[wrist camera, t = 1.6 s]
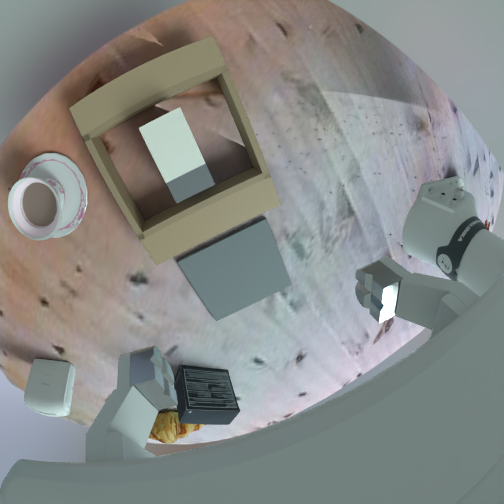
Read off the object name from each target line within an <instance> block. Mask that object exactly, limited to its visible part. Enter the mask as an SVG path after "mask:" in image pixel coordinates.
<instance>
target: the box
mask: <svg viewBox="0 0 504 504" xmlns="http://www.w3.org/2000/svg"><path fill="white" fill-rule="evenodd" d="M139 130H140V132H141V134H142V136H143V138H144V140H145V142H146V144H147V147H148V149H149V151H150V153H151V155H152V157H153V159H154V161H155V163H156V165H157V167H158V169H159V171H160V173H161V174H162V176H163V178H164V180H165V182H166V184H167V186H168V188H169V190H170V192H171V194H172V196H173V198H174V200H175V201H176V203H179V202H181V201H183V200H185V199H187V198H189V197H191V196H193V195H195V194H197V193H199V192H201V191H203V190H205V189H207V188H209V187H211V186H213V185H215V183H214V181H213V179H212V176H211V174H210V172H209V170H208V168H207V165H206V163H205V161H204V159H203V157H202V155H201V152H200V150H199V148H198V146H197V144H196V141H195V139H194V137H193V135H192V133H191V130H190V128H189V126H188V124H187V122H186V119H185V117H184V115H183V113H182V111H181V108H177V109H175V110H173V111H171V112H169V113H167V114H165V115H163V116H161V117H159V118H157V119H155V120H153V121H151V122H149V123H147V124H145V125H143V126H142V127H140V128H139Z"/></svg>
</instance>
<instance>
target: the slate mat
mask: <svg viewBox="0 0 504 504" xmlns="http://www.w3.org/2000/svg"><path fill="white" fill-rule="evenodd" d="M177 263H178V264H179V266H180V267H181V269H182V270H183V272H184V274H185V275H186V277H187V278H188V280H189V281H190V283H191V284H192V286H193V287H194V289H195V291H196V292H197V294H198V295H199V297H200V298H201V300H202V301H203V303H204V304H205V305H206V307H207V308H208V310H209V311H210V313H211V314H212V316H213V317H214V319H215V320H216V321H218V320H220V319H222V318H224V317H226V316H228V315H230V314H233V313H235V312H237V311H239V310H241V309H243V308H245V307H247V306H249V305H251V304H253V303H255V302H258V301H260V300H262V299H264V298H266V297H268V296H270V295H272V294H274V293H276V292H278V291H280V290H282V289H284V288H286V287H288V286H290V285H292V284H291V282H290V279H289V276H288V274H287V271H286V268H285V266H284V263H283V260H282V258H281V255H280V252H279V250H278V247H277V244H276V242H275V239H274V237H273V234H272V231H271V229H270V226H269V224H268V221H267V219H266V218H263V219H261V220H259V221H257V222H255V223H253V224H251V225H248V226H246V227H244V228H242V229H240V230H238V231H236V232H234V233H232V234H230V235H228V236H226V237H224V238H222V239H219V240H217V241H215V242H213V243H211V244H209V245H207V246H205V247H203V248H201V249H199V250H197V251H195V252H193V253H191V254H189V255H187V256H185V257H183V258H181V259H179V260H177Z"/></svg>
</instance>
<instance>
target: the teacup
mask: <svg viewBox="0 0 504 504" xmlns="http://www.w3.org/2000/svg"><path fill="white" fill-rule="evenodd" d="M56 180H57V181H58V182H59V183H60V184H61V185H62V187H63V188H64V191H63V189H62V187H61V185H60V184H59V183H58V182H57V181H56ZM8 190H9V192H10V193H9V197H8V210H9V214H10V217H11V219H12V221H13V223H14V225H15V226H16V228H17V229H18V230H19V231H20V232H21V233H22V234H23V235H25V236H26V237H28V238H30V239H34V240H46V239H49V238H50V237H55V238H58V237H61V236H64V235H68V234H69V233H70V232H72V231H73V230H74V229H75V228H77V226H78V225H79V223H80V222H81V220H82V219H83V217H84V214H85V211H86V208H87V204H88V190H87V186H86V182H85V178H84V176H83V174H82V173H81V171H80V169H79V167H78V166H77V165H76V164H75V163H74V162H73V161H72V160H71V159H69V158H68V157H66V156H64V155H61V154H59V153H44V154H42V155H40V156H37V157H35V158H34V159H32V160H31V161H30V162H29V163H28V164H27V165H26V166H25V168H24V170H23V172H22V174H21V176H20V178H19V181H17V182H16V183H15V184H14V186H12V189H11V188H8ZM64 192H65V196H64ZM64 200H65V201H64Z"/></svg>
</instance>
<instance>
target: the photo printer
mask: <svg viewBox="0 0 504 504" xmlns="http://www.w3.org/2000/svg"><path fill="white" fill-rule="evenodd" d="M75 372H76V369H75V367H74V366H73V365H72V364H71V363H68V362H62V361H54V360H45V359H34V362H33V365H32V368H31V371H30V375H29V378H28V382H27V385H26V389H25V394H24V401H25V405H27V407H28V408H29V409H31V410H32V411H34V412H36V413H39V414H42V415H46V416H54V417H59V416H66V415H68V414H69V413H70V407H71V399H72V392H73V386H74V380H75Z"/></svg>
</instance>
